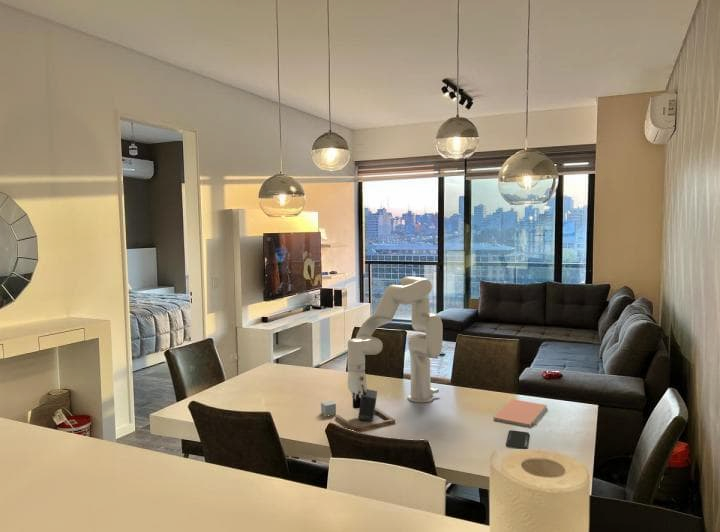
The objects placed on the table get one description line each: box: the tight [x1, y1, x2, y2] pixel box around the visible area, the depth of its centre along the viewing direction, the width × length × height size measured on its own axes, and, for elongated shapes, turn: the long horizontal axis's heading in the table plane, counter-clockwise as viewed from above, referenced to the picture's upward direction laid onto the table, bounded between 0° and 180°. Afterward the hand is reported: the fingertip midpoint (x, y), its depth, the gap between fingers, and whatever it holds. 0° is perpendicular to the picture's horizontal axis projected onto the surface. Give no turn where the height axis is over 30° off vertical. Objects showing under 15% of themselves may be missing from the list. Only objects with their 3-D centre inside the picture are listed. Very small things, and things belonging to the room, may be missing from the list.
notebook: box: [492, 399, 548, 428], centre depth 229 cm, size 27×17×2 cm, turn 147°
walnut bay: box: [334, 407, 396, 432], centre depth 224 cm, size 20×18×2 cm
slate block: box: [320, 400, 337, 417], centre depth 233 cm, size 5×5×5 cm
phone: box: [505, 429, 530, 450], centre depth 201 cm, size 8×1×15 cm
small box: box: [357, 388, 378, 422], centre depth 228 cm, size 11×6×10 cm, turn 173°
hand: (356, 407), depth 229 cm, fingers closed
